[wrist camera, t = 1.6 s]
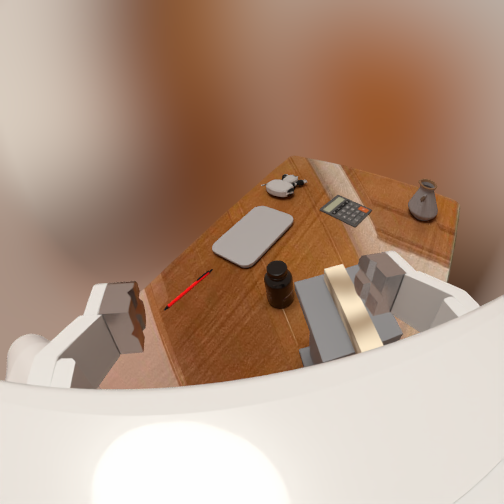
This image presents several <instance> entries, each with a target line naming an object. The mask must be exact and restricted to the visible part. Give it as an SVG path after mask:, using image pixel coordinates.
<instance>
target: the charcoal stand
mask: <svg viewBox="0 0 504 504" xmlns="http://www.w3.org/2000/svg"><path fill="white" fill-rule="evenodd" d="M345 269H346V271H347V273H348V275H349V277H350V279H351V281H352V283H353V284H354V279H355V275H356V273H357V272H358V271H359V270H360V268H359V266H358V265H355V266H352V267H348V268H345ZM294 283H295V291H296V294H297V297H298V300H299V302H300V305H301V308H302V311H303V314H304V316H305V319H306V322H307V325H308V328H309V331H310V346H309V347H306V348H302V349H299V353H300V356H301V359H302V362H303V366H304V367H308V366H313V365H317V364H321V363H325V362H329V361H333V360H337V359H340V358H344V357H348V356H351V355H355V354H356V353H355V350H354V348H353V345H352V343H351V341H350V338H349V336H348V333H347V331H346V329H345V326H344V324H343V322H342V319H341V317H340V315H339V312H338V310H337V308H336V306H335V303H334V301H333V299H332V297H331V294H330V292H329V290H328V288H327V285H326V283H325V281H324V274H323V275H320V276H316V277H313V278H309V279H305V280H302V281H298V282H294ZM361 300H362V302H363V304H364V306H365V308H366V310H367V312H368V314H369V316H370V318H371V320H372V322H373V324H374V326H375V328H376V330H377V333H378V335H379V337H380V339H381V341H382V343H383V345H387V344H390V343H393V342H396V341H398V340H399V339H400V338H401V336H402V334H403V333H402V331H401V329H400V327H399V325H398V323H397V321H396V319H395V317H394V315H393V314H391V313H390V312H388V313H384V314H380V315H375V316H373V315H372V314H371V312H370V311H369V310H368V308H367V307H366V305H365V301H366V300H364V299H362V298H361Z"/></svg>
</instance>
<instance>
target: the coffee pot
mask: <svg viewBox="0 0 504 504" xmlns="http://www.w3.org/2000/svg"><path fill="white" fill-rule="evenodd" d="M419 183H420V188H419V189H418V191H417V192H416V193H415V195H414V196H413V197H412V198H411V200H410V201H409V203H408V206H409V210H410V212H411V213H412V214H413V216H414V217H415V218H417V219H419V220H422V221H427V220H430V219H433V218H434V217H435V216H436V215H437V204H436V199H435V193H434V190H435V189H436V188H437V185H436V184H435V183H434V182H433V181H431V180H428V179H421V180H419Z"/></svg>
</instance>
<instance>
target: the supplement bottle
mask: <svg viewBox="0 0 504 504" xmlns="http://www.w3.org/2000/svg"><path fill="white" fill-rule="evenodd" d="M264 282H265V288H266V293H267V298H268V302H269V303H270V304H271V305H272V306H273V307H276V308H284V307H287V306H289V305H290V304H291V303H292V301H293V298H294V294H293V280H292V274H291V273H290V271H289V270H288V269H287V266H286V264H285V263H284V262H283V261H273V262H271V263H269V264H268V266H267V273H266V274H265V277H264Z"/></svg>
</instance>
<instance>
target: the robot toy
mask: <svg viewBox="0 0 504 504" xmlns="http://www.w3.org/2000/svg"><path fill="white" fill-rule="evenodd" d="M304 183H307V181H306V180H298V177H297V176H294V175H288V174H284V175H283V176H282V180H272V181H271V182H269V183H267V184H265V185H266V190H267V192H269V193H270V194H272V195H274V196H278V197H287V196H289V195H291V194H292V193H293V192H294V187H295V186H296V185H299V186H301V185H304ZM261 186H264V185H261Z"/></svg>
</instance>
